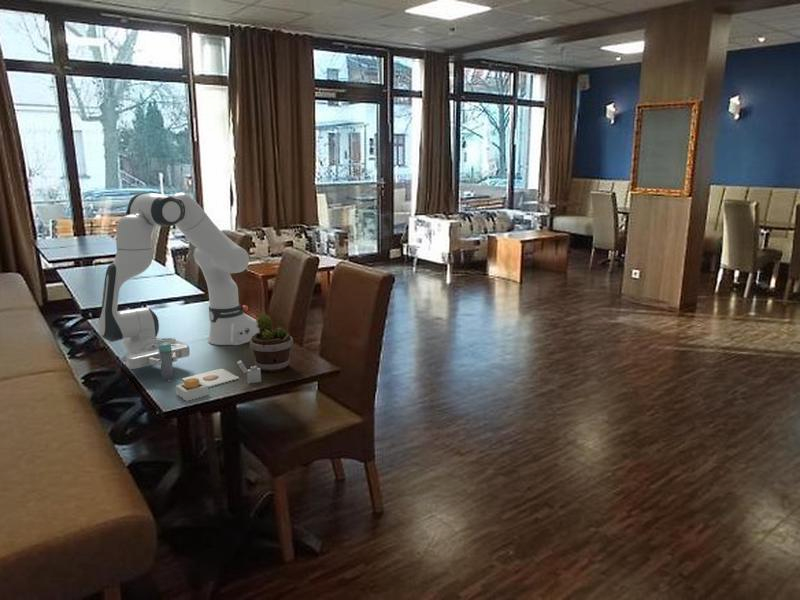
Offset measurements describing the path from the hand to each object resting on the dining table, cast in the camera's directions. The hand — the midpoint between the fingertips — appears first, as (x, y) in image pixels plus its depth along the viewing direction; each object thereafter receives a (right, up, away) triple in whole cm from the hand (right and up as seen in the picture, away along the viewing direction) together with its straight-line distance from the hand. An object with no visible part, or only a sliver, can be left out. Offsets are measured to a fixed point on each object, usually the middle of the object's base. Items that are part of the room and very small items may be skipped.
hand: (167, 361), depth 189 cm
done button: (+12, -7, -11) cm, 18 cm away
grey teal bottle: (-1, -6, +2) cm, 7 cm away
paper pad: (+13, -6, +2) cm, 15 cm away
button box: (+12, -9, -10) cm, 18 cm away
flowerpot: (+31, -4, +14) cm, 34 cm away
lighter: (+27, -7, 0) cm, 28 cm away
